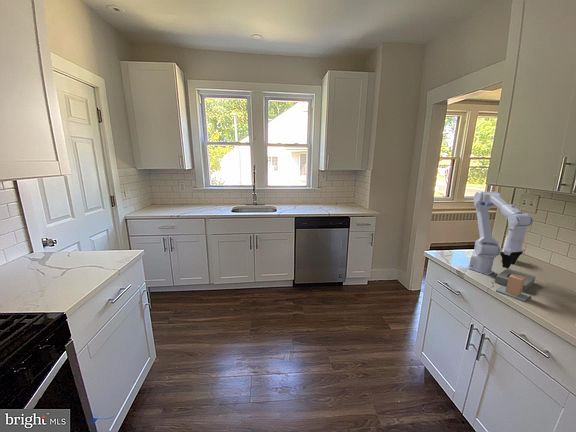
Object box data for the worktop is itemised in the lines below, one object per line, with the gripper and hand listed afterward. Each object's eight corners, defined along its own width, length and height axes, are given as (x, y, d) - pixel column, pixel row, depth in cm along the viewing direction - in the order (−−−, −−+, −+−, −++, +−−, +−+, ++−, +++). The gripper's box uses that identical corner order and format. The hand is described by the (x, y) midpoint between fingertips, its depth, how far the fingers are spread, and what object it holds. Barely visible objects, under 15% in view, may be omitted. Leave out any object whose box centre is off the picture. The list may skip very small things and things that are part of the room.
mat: (495, 291, 113) (496, 290, 113) (502, 286, 117) (502, 285, 117) (524, 301, 105) (524, 300, 105) (530, 296, 109) (530, 295, 109)
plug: (505, 291, 112) (509, 276, 110) (508, 289, 114) (512, 273, 112) (517, 296, 108) (522, 280, 106) (521, 293, 110) (525, 277, 108)
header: (494, 282, 121) (496, 275, 120) (505, 274, 130) (507, 268, 129) (524, 292, 112) (525, 285, 112) (534, 283, 121) (535, 276, 120)
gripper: (521, 244, 106) (514, 272, 109) (531, 238, 113) (524, 265, 117) (501, 239, 111) (494, 266, 115) (511, 234, 119) (505, 260, 122)
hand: (508, 265), depth 116 cm, fingers open, 7 cm apart
